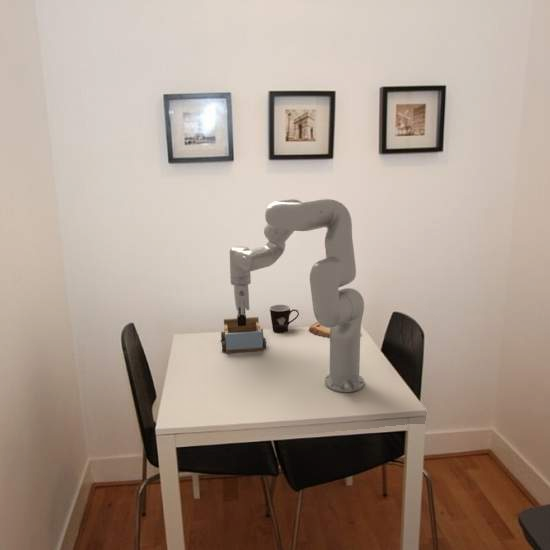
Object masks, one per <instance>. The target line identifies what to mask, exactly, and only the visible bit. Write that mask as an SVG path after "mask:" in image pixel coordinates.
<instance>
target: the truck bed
mask: <svg viewBox="0 0 550 550" xmlns="http://www.w3.org/2000/svg"><path fill="white" fill-rule="evenodd" d="M254 331H262V338H263V347H258V348H245V349H232V350H227V349H226V333H240V332H254ZM220 336H221V337H220V338H221V350H222V352H225V354H235V353H236V354H238V353H248V352H249V353H250V352H263V351H264V349H265V348H267V339H266V338H265V337H264V330H263V328H261V325H260V321H259V316H250V317H246V326H238V321H237V317H236V318H235V317H234V318H224V319H223V331H221V332H220Z"/></svg>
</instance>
